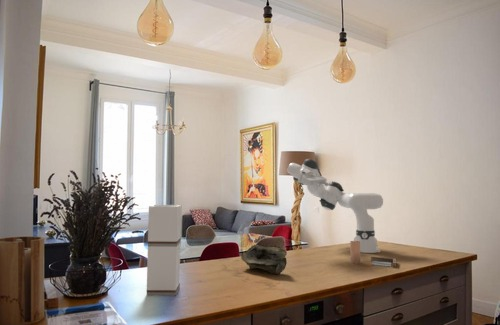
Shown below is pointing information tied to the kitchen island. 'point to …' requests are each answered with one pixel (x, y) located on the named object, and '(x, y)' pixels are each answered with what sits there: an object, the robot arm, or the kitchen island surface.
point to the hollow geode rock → (265, 258)
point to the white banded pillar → (164, 250)
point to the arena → (383, 261)
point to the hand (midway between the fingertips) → (323, 185)
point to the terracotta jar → (355, 252)
